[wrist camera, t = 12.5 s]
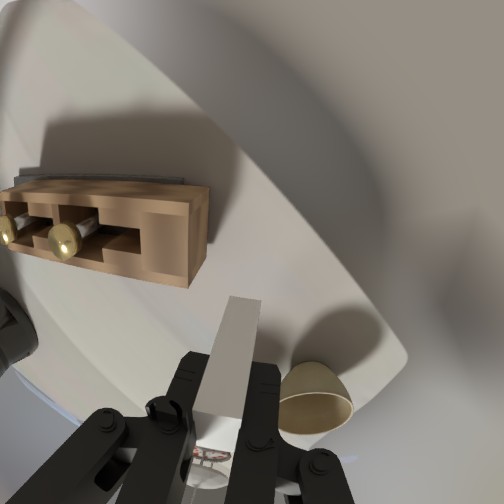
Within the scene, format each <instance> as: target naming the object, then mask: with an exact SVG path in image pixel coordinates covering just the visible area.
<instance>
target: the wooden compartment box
mask: <svg viewBox="0 0 504 504" xmlns="http://www.w3.org/2000/svg"><path fill="white" fill-rule="evenodd" d="M209 193H210V187H202V186H191V185H179V184H165V183H150V182H132V181H108V180H31V181H28V182H26V183H23V184H20V185H17V186H14V187H12V188H9V189H6V190H4V191H1V192H0V202H1V210H2V216H3V215H6V214H10V215H12V217H13V218H16V217H18V216H20V215H22V214H24V213H26V212H28V211H29V216H38V217H47V218H53V224H52V225H51V226H45V225H42V221H41V218H40V219H38V220H36V221H34V222H32V223H30V224H29V225H27V226H25V227H23V228H21V229H19V230H18V236H17V238H16V240H14V241H12V242H11V243H9V244H8V249H9V250H13V251H17V252H20V253H24V254H28V255H32V256H36V257H40V258H44V259H48V260H52V261H56V262H60V263H64V264H68V265H73V266H77V267H81V268H86V269H90V270H95V271H99V272H104V273H109V274H114V275H118V276H123V277H128V278H133V279H138V280H143V281H149V282H154V283H159V284H165V285H170V286H176V287H181V288H187V289H188V288H189V286H190V284H191V283H192V281H193V279H194V277H195V276H196V274H197V272H198V271H199V269H200V267H201V266H202V264H203V262H204V261H205V259H206V252H207V229H208V209H209ZM95 207H98V210H99V223H100V224H106V225H114V226H122V227H130V228H129V229H128V230H126V231H125V232H124V233H122V234H121V235H119V236H115V235H108V234H101V233H97V230H95V231H93V232H92V233H90V234H89V235H87V236H85V237H84V238H82V247H81V249H80V251H79V252H77V253H76V254H75V255H73V256H72V257H70V258H69V259H68V260H61V259H59V258H57V257H56V256H55V255H54V254H53V252H52V250H51V248H50V246H49V242H48V234H49V231H50V229H51V228H52V227H54V226H56V225H58V224H60V223H62V222H63V221H71V222H73V223H74V224H75V225H76V224H78V223H80V222H82V221H84V220H85V219H87V218H89V217H91V216H93V215H95V214H96V212H95Z"/></svg>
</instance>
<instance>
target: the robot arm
mask: <svg viewBox="0 0 504 504" xmlns="http://www.w3.org/2000/svg"><path fill="white" fill-rule="evenodd" d="M260 306H261V300H254V299H247V298H240V297H234V296H230V297H229V300H228V303H227V306H226V309H225V312H224V315H223V318H222V321H221V324H220V327H219V330H218V333H217V336H216V339H215V342H214V345H213V348H212V351H211V354H210V355H207V354H202V353H197V352H192V351H190V352H188V353H187V354H186V355H185V356H184V357H183V358H182V359H181V361H180V363H179V365H178V368H177V370H176V372H175V375H174V378H173V379H172V382H171V384H170V386H169V389H168V391H167V393H166V396H159V397H155V398H153V399H152V400H150V401H149V402H148V403H147V404H146V406H145V408H146V411H147V414H148V416H146V417H123V415H122V414H121V413H120V412H119V411H117V410H115V409H112V408H102V409H98V410H97V411H95V412H94V413H92V415H91V416H90V417H89V418H88V419H87V420H86V421H85V422H84V423H83V424H82V425H81V426H80V427H79V428H78V429H77V430H76V431H75V432H74V433H73V434H72V435H71V436H70V437H69V438H68V439H67V440H66V442H64V444H62V445H61V446H60V448H59V449H58V450H57V451H56V452H55V453H54V454H53V455H52V456H51V457H50V458H49V459H48V460H47V461H46V462H45V463H44V464H43V465H42V466H41V467H40V468H39V469H38V470H37V471H36V472H35V473H34V474H33V475H32V476H31V477H30V478H29V480H28V481H27V482H26V483H25V484H24V485H23V486H22V487H21V488H20V489H19V490H18V491H17V492H16V493H15V494H14V495H13V496H12V497H11V498H10V499H9V500H8V501H7V502H6V503H5V504H106V503H107V502H108V501H109V499H111V497H112V496H113V495H114V493H115V492H116V491H117V490H118V489H119V487H120V486H121V485H122V484H123V485H122V487H121V490H120V492H119V495H118V497H117V500H116V502H115V504H181V502H182V498H183V494H184V491H185V487H186V484H187V480H188V476H189V473H190V469H191V466H192V462H193V450H194V447H195V444H196V446H200V447H205V448H210V449H215V450H220V451H225V452H231V453H234V457H233V462H232V467H231V472H230V477H229V482H228V487H227V493H226V498H225V502H224V504H274V497H275V490H276V491H279V492H281V493H283V494H284V497H285V503H286V504H355V503H354V500H353V497H352V494H351V491H350V489H349V486H348V483H347V480H346V477H345V474H344V471H343V468H342V466H341V463H340V460H339V459H338V457H337V455H335V454H334V453H333V452H331V451H330V450H326V449H323V448H321V449H320V448H315V449H312V450H310V451H306V450H303V449H300V448H297V447H294V446H292V445H290V444H288V443H287V442H286V441H284V440H283V438H282V437H281V436H280V433H279V430H278V420H279V405H280V388H281V387H280V386H281V373H280V371H279V369H278V367H277V365H275V364H267V363H260V362H253V361H252V359H253V353H254V346H255V340H256V333H257V327H258V320H259V313H260ZM37 347H38V340H37V336H36V333H35V331H34V328H33V326H32V324H31V322H30V321H29V319H28V317H27V316H26V314H25V313H24V311H23V310H22V308H21V307H20V306H19V304H18V303H17V302H16V301H15V300H14V299H13V298H12V297H11V296H10V295H9V294H8V293H7V292H6V291H4V290H2V289H0V377H1V376H2V375H3V374H4V373H5V371H6V370H7V369H8V368H9V366H11V365H12V364H14V363H16V362H18V361H20V360H22V359H24V358H25V357H28V356H30V355H31V354H32V353H33V352H34V351H35V350H36V349H37Z"/></svg>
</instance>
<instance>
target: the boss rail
mask: <svg viewBox="0 0 504 504" xmlns="http://www.w3.org/2000/svg"><path fill="white" fill-rule="evenodd" d="M31 180H108V181H132V182H150V183H165V184H179V185H184V178H174V177H158V176H138V175H109V174H50V175H23V176H16V177H14V186H17V185H20V184H23V183H26V182H28V181H31ZM95 212H96V214H95V215H93V216H91V217H89V218H87V219H85V220H84V221H82V222H80V223H78V224H76V225H75V224H74V223H73V222H71V221H63V222H62V223H60V224H58V225H56V226H54V227H52V228H51V229H50V231H49V234H48V242H49V246H50V248H51V250H52V252H53V254H54V255H55V256H56V257H57V258H59V259H61V260H68V259H69V258H70V257H72V256H73V255H75V254H76V253H77V252H79V251H80V249H81V247H82V238H84V237H85V236H87V235H89V234H90V233H92V232H93V231H95V230H97V233H101V234H108V235H115V236H119V235H121V234H122V233H124V232H125V231H126V230H128V229H129V228H130V227H122V226H114V225H106V224H100V223H99V210H98V207H95ZM40 218H41V221H42V225H45V226H51V225H52V224H53V218H47V217H38V216H29V211H28V212H26V213H24V214H22V215H20V216H18V217H16V218H13V217H12V215H10V214H6V215H3V216H1V217H0V243H1V244H2V245H4V246H5V245H7V244H9V243H11V242H12V241H14V240H16V238H17V236H18V230H19V229H21V228H23V227H25V226H27V225H29V224H30V223H32V222H34V221H36V220H38V219H40Z"/></svg>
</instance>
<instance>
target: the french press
mask: <svg viewBox="0 0 504 504" xmlns="http://www.w3.org/2000/svg"><path fill="white" fill-rule="evenodd" d="M230 453H231V452H225V451H220V450H215V449H210V448H205V447H200V446H196V444H195V447H194V450H193V457H194V458H196V459H201V462H200V465H199V464H193V463H192V466H191V469H190V473H189V476H188V480H187V484H188V485H190V486H192V487H195V489H194V493H193V497H192V500H191V504H193V501H194V496H195V493H196V488H204V489H216V488H220V487H223V486H226V485H228V482H229V479H228V477H227V476H226V475H224V474H223V473H221V472H220V471H217V470H215V469H212V466H213V462H214V463H215V462H224V461H228V460H229V459H230V458H231V455H230ZM204 460H205V461H209V462H212V463H211V467H206V466H202V465H203V461H204Z"/></svg>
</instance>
